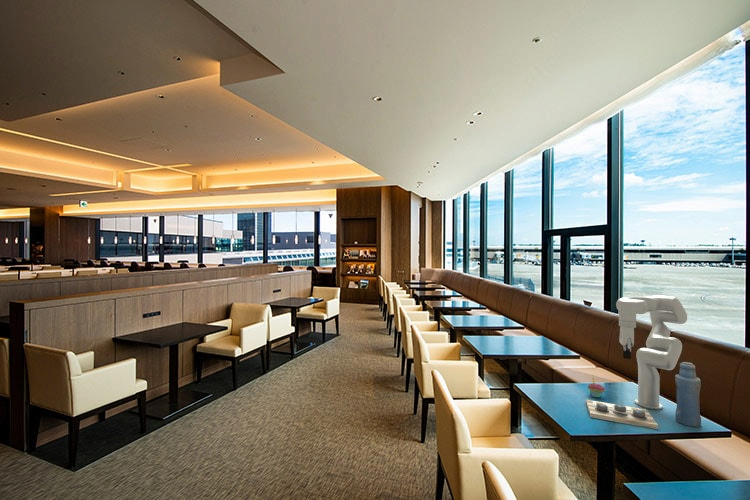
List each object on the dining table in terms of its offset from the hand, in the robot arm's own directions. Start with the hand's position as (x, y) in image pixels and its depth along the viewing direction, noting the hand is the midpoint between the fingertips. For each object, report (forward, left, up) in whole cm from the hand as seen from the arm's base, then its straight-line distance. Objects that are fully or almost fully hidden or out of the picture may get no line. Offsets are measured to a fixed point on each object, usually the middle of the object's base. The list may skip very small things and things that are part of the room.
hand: (627, 358), depth 189 cm
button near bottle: (+7, +4, -27) cm, 28 cm away
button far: (+7, -12, -27) cm, 30 cm away
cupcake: (-22, -11, -29) cm, 38 cm away
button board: (+4, -4, -29) cm, 30 cm away
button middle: (+7, -4, -26) cm, 27 cm away
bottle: (-2, +26, -29) cm, 39 cm away
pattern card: (-2, -4, -27) cm, 27 cm away
